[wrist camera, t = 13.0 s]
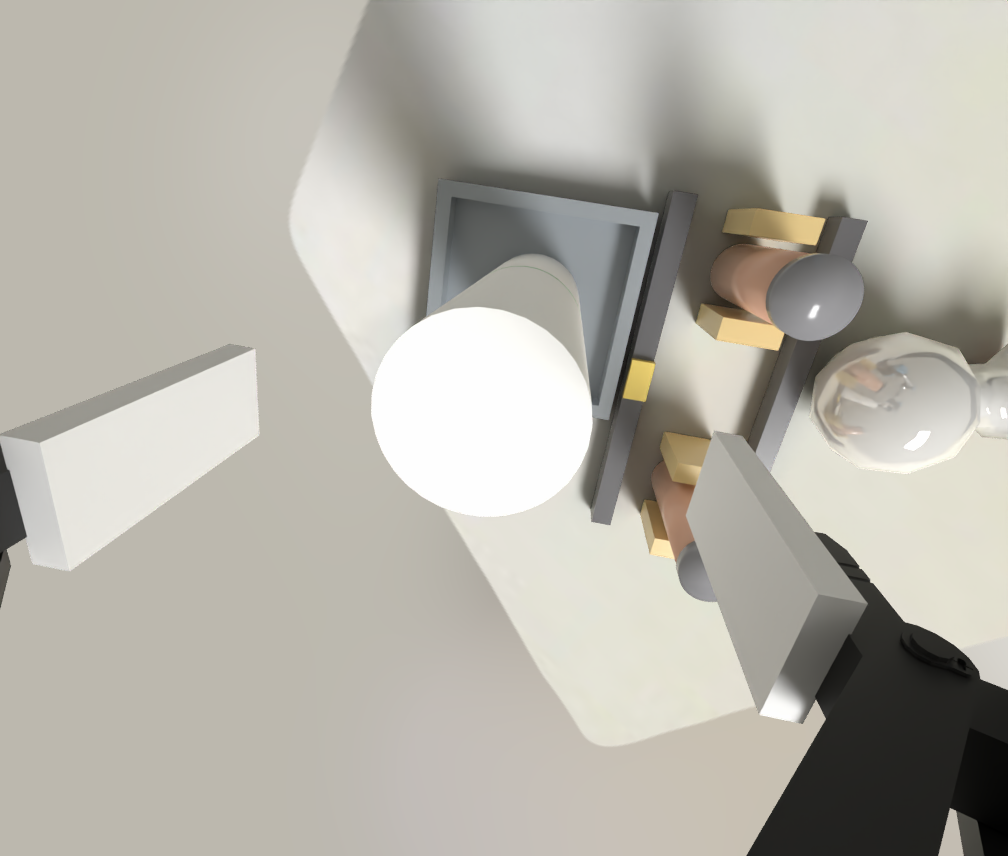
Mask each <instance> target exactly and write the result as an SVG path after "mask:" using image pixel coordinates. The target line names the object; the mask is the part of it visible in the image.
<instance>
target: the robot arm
mask: <svg viewBox="0 0 1008 856" xmlns="http://www.w3.org/2000/svg"><path fill="white" fill-rule="evenodd" d="M257 436H259V418H258V395H257V374H256V354H255V348H250V347H244V346H239V345H233V344H229V345H226V346H223V347H221V348H219V349H216V350H213V351H211V352H208V353H206V354H203V355H201V356H198V357H196V358H193V359H190V360H188V361H185V362H183V363H180V364H178V365H175V366H173V367H170V368H167V369H165V370H162V371H160V372H157V373H155V374H152V375H150V376H147V377H144V378H142V379H139V380H137V381H134V382H132V383H129V384H126V385H124V386H121V387H119V388H116V389H114V390H111V391H109V392H106V393H104V394H101V395H98V396H96V397H93V398H91V399H88V400H86V401H83V402H81V403H78V404H76V405H73V406H70V407H68V408H65V409H63V410H60V411H58V412H55V413H53V414H50V415H47V416H45V417H42V418H40V419H37V420H35V421H32V422H30V423H27V424H24V425H22V426H20V427H17V428H14V429H12V430H9V431H7V432H4V433H2V434H0V607H1V603H2V599H3V595H4V591H5V587H6V583H7V579H8V575H9V571H10V567H11V565H10V560H9V557H8V553H7V549H8V548H9V547H11V546H12V545H14V544H16V543H18V542H19V541H21V540H22V539H24V538H26V542H27V545H28V549H29V553H30V557H31V560H32V564H36V565H41V566H46V567H50V568H56V569H61V570H65V571H71V570H72V569H74V568H75V567H76V566H78V565H79V564H80V563H82V562H83V561H85V560H86V559H88V558H89V557H90V556H92V555H93V554H95V553H96V552H97V551H99V550H100V549H102V548H103V547H104V546H106V545H107V544H108V543H110V542H111V541H113V540H114V539H115V538H117V537H118V536H119V535H121V534H122V533H124V532H125V531H126V530H128V529H129V528H131V527H132V526H134V525H135V524H136V523H138V522H139V521H140V520H142V519H143V518H145V517H146V516H147V515H149V514H150V513H152V512H153V511H154V510H155V509H157V508H159V507H160V506H161V505H163V504H164V503H165V502H167V501H168V500H169V499H171V498H172V497H174V496H175V495H176V494H178V493H179V492H181V491H182V490H183V489H185V488H186V487H188V486H189V485H191V484H192V483H193V482H195V481H196V480H197V479H199V478H200V477H202V476H203V475H204V474H206V473H207V472H209V471H210V470H211V469H213V468H214V467H216V466H217V465H218V464H220V463H221V462H222V461H224V460H225V459H227V458H228V457H229V456H231V455H232V454H234V453H235V452H236V451H238V450H239V449H241V448H242V447H243V446H245V445H246V444H247V443H249V442H250V441H252V440H253V439H254V438H256V437H257ZM686 518H687V520H688V523H689V526H690V529H691V531H692V534H693V537H694V539H695V542H696V545H697V548H698V550H699V553H700V556H701V558H702V561H703V564H704V567H705V569H706V572H707V575H708V577H709V580H710V583H711V586H712V588H713V591H714V594H715V596H716V599H717V602H718V605H719V607H720V610H721V613H722V615H723V618H724V621H725V624H726V626H727V629H728V632H729V634H730V637H731V640H732V642H733V645H734V648H735V651H736V653H737V656H738V659H739V661H740V664H741V667H742V670H743V672H744V675H745V678H746V680H747V683H748V686H749V689H750V691H751V694H752V697H753V699H754V702H755V705H756V708H757V710H758V713H759V715H763V716H768V717H772V718H777V719H782V720H787V721H792V722H797V723H801V724H803V722H804V720H805V719H806V716H807V715H808V713H809V711H810V709H811V707H812V706H813V703H814V702H815V700H817V702H818V704H819V706H820V708H821V710H822V712H823V714H824V716H825V718H826V720H825V722H824V724H823V725H822V727H821V729H820V731H819V732H818V734H817V736H816V737H815V739H814V741H813V743H812V744H811V746H810V748H809V749H808V751H807V753H806V755H805V756H804V758H803V760H802V761H801V763H800V765H799V766H798V768H797V770H796V772H795V773H794V775H793V777H792V778H791V780H790V782H789V784H788V785H787V787H786V789H785V790H784V792H783V794H782V796H781V797H780V799H779V801H778V802H777V804H776V806H775V808H774V809H773V811H772V813H771V814H770V816H769V818H768V820H767V821H766V823H765V825H764V826H763V828H762V830H761V832H760V833H759V835H758V837H757V839H756V840H755V842H754V844H753V845H752V847H751V849H750V851H749V852H748V854H747V856H938V854H939V849H940V846H941V841H942V838H943V834H944V830H945V825H946V821H947V817H948V813H949V809H950V808H951V809H954V810H956V812H957V817H958V824H959V829H960V836H961V842H962V847H963V853H964V856H1008V690H1006V689H1003V688H1001V687H998V686H996V685H993V684H991V683H988V682H986V681H983V680H981V679H980V675H979V671H978V669H977V668H976V667H975V665H974V664H973V663H972V661H971V660H970V659H969V658H968V657H967V656H966V655H965V654H964V653H963V652H961V651H960V650H959V649H958V648H957V647H955V646H954V645H953V644H951V643H950V642H948V641H946V640H945V639H943V638H942V637H940V636H938V635H937V634H935V633H933V632H931V631H928V630H926V629H924V628H922V627H919V626H917V625H913V624H909V623H905V622H904V621H903V620H902V619H901V617H900V616H899V615H898V614H897V612H896V611H895V610H894V609H893V608H892V606H891V605H890V604H889V603H888V601H887V600H886V599H885V598H884V596H883V595H882V594H881V593H880V591H879V590H878V589H877V588H876V586H875V585H874V584H873V583H870V579H869V578H868V576H867V575H866V574H865V573H864V571H863V570H862V569H859V565H858V564H857V563H856V561H855V560H854V559H853V558H852V556H851V555H850V554H849V553H848V551H847V550H846V549H844V548H843V547H842V546H840V545H839V544H838V543H837V542H835V541H834V540H833V539H831V538H830V537H829V536H827V535H826V534H823V533H818V532H814V531H813V530H812V528H811V527H810V526H809V524H808V523H807V522H806V520H805V519H804V518H803V516H802V515H801V514H800V512H799V511H798V510H797V508H796V507H795V506H794V504H793V503H792V502H791V500H790V499H789V498H788V496H787V495H786V494H785V492H784V491H783V490H782V488H781V487H780V486H779V484H778V483H777V482H776V480H775V479H774V478H773V476H772V475H771V474H770V472H769V471H768V470H767V468H766V467H765V466H764V464H763V463H762V462H761V460H760V459H759V458H758V456H757V455H756V454H755V452H754V451H753V450H752V448H751V447H750V446H749V444H748V443H747V442H746V440H745V439H744V438H743V436H740V435H734V434H729V433H723V432H718V431H714V433H713V436H712V439H711V442H710V444H709V447H708V450H707V453H706V456H705V459H704V462H703V465H702V468H701V471H700V474H699V477H698V480H697V483H696V486H695V489H694V492H693V495H692V498H691V501H690V504H689V507H688V510H687V513H686Z"/></svg>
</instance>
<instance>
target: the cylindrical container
mask: <svg viewBox="0 0 1008 856" xmlns="http://www.w3.org/2000/svg"><path fill="white" fill-rule="evenodd" d="M372 420H373V424H374V430H375V435H376V438H377V440H378V442H379V444H380V447H381V449H382V452H383V454H384V456H385V458H386V459H387V461H388V462H389V464H390V465H391V467H392V468H393V470H394V471H395V472H396V473H397V475H399V477H400V478H401V479H402V480H403V481H404V482H405V483H406V484H407V485H408V486H409V487H411V488H412V489H413V490H414V491H415V492H417V493H418V494H419V495H421V496H422V497H424V498H425V499H427V500H429V501H431V502H433V503H435V504H437V505H438V506H440V507H443V508H446V509H449V510H452V511H455V512H457V513H461V514H467V515H474V516H480V517H485V516H505V515H509V514H514V513H519V512H523V511H525V510H528V509H530V508H533V507H535V506H537V505H540V504H541V503H543V502H545V501H546V500H548V499H549V498H551V497H552V496H554V495H555V494H556V493H558V492H559V491H560V490H561V489H562V488H563V487H564V486H565V485H566V484H567V483H568V482H569V481H570V479H571V478H572V477H573V475H574V474H575V472H576V471H577V470H578V468H579V467H580V465H581V463H582V461H583V458H584V456H585V454H586V451H587V449H588V447H589V441H590V436H591V431H592V402H591V394H590V385H589V377H588V369H587V360H586V352H585V344H584V336H583V327H582V320H581V311H580V302H579V294H578V290H577V286H576V283H575V281H574V279H573V277H572V275H571V274H570V272H569V271H568V270H567V269H566V268H565V267H564V266H563V265H562V264H561V263H560V262H558V261H556V260H555V259H553V258H551V257H548V256H545V255H542V254H534V253H532V254H522V255H519V256H516V257H513V258H512V259H510V260H508V261H506V262H505V263H503V264H502V265H500V266H499V267H497V268H496V269H495V270H493V271H492V272H490V273H489V274H487V275H486V276H484V277H483V278H482V279H480V280H479V281H477V282H476V283H474V284H473V285H471V286H470V287H469V288H467V289H466V290H464V291H463V292H461V293H460V294H458V295H457V296H455V297H454V298H453V299H451V300H450V301H448V302H447V303H445V304H444V305H442V306H441V307H440V308H438V309H437V310H435V311H434V312H432V313H431V314H429V315H428V316H426V317H425V318H424V319H422V320H421V321H419V322H418V323H416V324H415V325H413V326H412V327H411V328H410V329H409V330H407V331H406V332H405V333H404V334H403V335H402V336H400V337H399V338H398V339H397V340H396V342H395V343H394V344H393V345H392V347H391V348H390V349H389V351H388V352H387V353H386V355H385V357H384V359H383V361H382V363H381V365H380V367H379V369H378V371H377V374H376V378H375V382H374V386H373V391H372Z"/></svg>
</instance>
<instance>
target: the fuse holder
mask: <svg viewBox="0 0 1008 856" xmlns="http://www.w3.org/2000/svg"><path fill="white" fill-rule="evenodd" d="M697 197H698V194H692V193H686V192H679V191H671V192H669V193H668V197H667V201H666V205H665V209H664V214H663V218H662V222H661V226H660V230H659V234H658V238H657V242H656V246H655V250H654V254H653V258H652V262H651V266H650V270H649V274H648V279H647V283H646V287H645V291H644V295H643V299H642V303H641V307H640V311H639V315H638V319H637V323H636V327H635V331H634V335H633V339H632V344H631V348H630V352H629V356H628V360H627V364H626V368H625V372H624V376H623V380H622V384H621V388H620V392H619V396H618V400H617V404H616V409H615V413H614V417H613V421H612V425H611V429H610V433H609V437H608V441H607V445H606V449H605V453H604V457H603V461H602V465H601V470H600V474H599V478H598V482H597V486H596V490H595V494H594V498H593V502H592V506H591V522H596V523H601V524H606V525H610V524H611V520H612V516H613V513H614V509H615V505H616V501H617V498H618V494H619V490H620V486H621V483H622V479H623V475H624V471H625V468H626V464H627V460H628V456H629V453H630V449H631V445H632V441H633V438H634V434H635V430H636V426H637V423H638V419H639V415H640V411H641V408H642V404H643V402H646V398H647V394H648V390H649V387H650V383H651V379H652V376H653V372H654V368H655V362H654V359H655V355H656V351H657V348H658V344H659V340H660V336H661V333H662V329H663V325H664V321H665V318H666V314H667V310H668V306H669V303H670V299H671V295H672V291H673V288H674V284H675V280H676V276H677V272H678V269H679V265H680V261H681V257H682V254H683V250H684V246H685V242H686V239H687V235H688V231H689V227H690V224H691V220H692V216H693V212H694V209H695V205H696V201H697ZM824 222H825V219H824V218H818V217H811V216H805V215H799V214H792V213H786V212H779V211H773V210H767V209H760V208H747V209H729V210H728V213H727V216H726V220H725V223H724V227H723V230H722V232H724V233H730V234H737V235H743V236H749V237H755V238H762V239H768V240H774V241H781V242H790V243H799V244H808V245H816V244H817V241H818V239H819V236H820V233H821V230H822V228H823V225H824ZM867 222H868V221H866V220H859V219H853V218H846V217H829V218H828V221H827V223H826V226H825V229H824V232H823V235H822V237H821V240H820V243H819V246H818V248H817V251H816V253H824V254H831V255H837V256H840V257H843V258H845V259H847V260H849V261H850V262H852V260H853V258H854V255H855V253H856V250H857V248H858V245H859V242H860V240H861V237H862V235H863V232H864V230H865V227H866V224H867ZM696 324H697V325H699V326H700V327H701V328H702V329H703V330H705V331H706V332H707V333H708V334H709V335H711V336H712V337H713V338H714V339H715V340H718V341H724V342H730V343H736V344H742V345H748V346H753V347H759V348H765V349H771V350H777V351H778V350H779V347H780V345H781V342H782V339H783V336H784V333H783V332H782V331H780V330H779V329H777V328H776V327H775V326H774V325H773V324H771V323H769V322H767V321H765V320H763V319H761V318H759V317H757V316H756V315H754V314H752V313H750V312H748V311H746V310H740V309H734V308H728V307H722V306H716V305H710V304H704V303H701V306H700V310H699V313H698V316H697V320H696ZM821 340H822V339H821ZM821 340H815V341H804V340H799V339H795V338H793V337H791V336H789V335H787V334H786V337H785V340H784V343H783V345H782V348H781V351H780V354H779V357H778V359H777V362H776V365H775V368H774V370H773V373H772V376H771V379H770V381H769V384H768V387H767V390H766V393H765V395H764V398H763V401H762V404H761V406H760V409H759V412H758V415H757V418H756V420H755V423H754V426H753V429H752V431H751V434H750V437H749V440H748V442H747V443H748V444H749V446H750V447H751V448H752V450H753V451H754V452H755V454H756V455H757V456H758V458H759V459H760V460H761V462H762V463H763V464H764V466H765V467H766V468H767V470H768V471H769V472H770V471H771V469H772V466H773V464H774V461H775V459H776V456H777V453H778V451H779V448H780V446H781V443H782V441H783V438H784V435H785V433H786V430H787V428H788V425H789V423H790V420H791V417H792V415H793V412H794V410H795V407H796V405H797V402H798V399H799V397H800V394H801V392H802V389H803V387H804V384H805V381H806V379H807V376H808V374H809V371H810V369H811V366H812V363H813V361H814V358H815V356H816V353H817V350H818V348H819V345H820V343H821ZM710 442H711V440H710V439H704V438H699V437H693V436H688V435H682V434H676V433H671V432H665V431H664V434H663V437H662V441H661V444H660V447H659V448H660V450H661V453H662V456H663V458H664V461H665V463H666V466H667V468H668V471H669V473H670V476H671V478H672V481H674V482H680V483H685V484H691V485H696V483H697V480H698V477H699V474H700V471H701V468H702V465H703V462H704V459H705V456H706V453H707V450H708V447H709V444H710ZM640 515H641V519H642V523H643V528H644V532H645V536H646V540H647V544H648V548H649V553H650V554H651V555H656V556H661V557H666V558H672V559H675V558H674V555H673V552H672V548H671V545H670V542H669V539H668V535H667V532H666V529H665V526H664V522H663V519H662V516H661V513H660V509H659V506H658V503H657V501H651V500H646V499H644V503H643V506H642V509H641V513H640Z"/></svg>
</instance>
